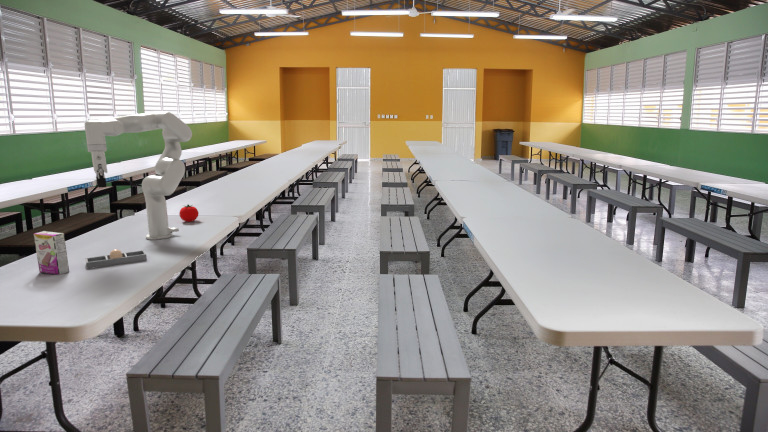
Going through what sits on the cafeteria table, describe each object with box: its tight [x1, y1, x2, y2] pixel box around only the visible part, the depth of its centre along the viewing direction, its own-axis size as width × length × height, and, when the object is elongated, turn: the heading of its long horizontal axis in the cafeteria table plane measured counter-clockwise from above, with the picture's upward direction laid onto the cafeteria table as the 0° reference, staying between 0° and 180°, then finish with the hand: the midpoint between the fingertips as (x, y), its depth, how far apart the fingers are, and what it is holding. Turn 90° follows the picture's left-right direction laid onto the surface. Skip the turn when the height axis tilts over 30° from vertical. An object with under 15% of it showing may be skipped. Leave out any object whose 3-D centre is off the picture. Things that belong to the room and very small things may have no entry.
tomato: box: [178, 204, 199, 223], centre depth 305 cm, size 10×10×10 cm
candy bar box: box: [33, 230, 70, 276], centre depth 212 cm, size 11×5×16 cm, turn 71°
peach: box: [109, 248, 123, 259], centre depth 226 cm, size 5×5×5 cm
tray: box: [85, 249, 148, 270], centre depth 227 cm, size 23×8×3 cm, turn 121°
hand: (101, 185), depth 240 cm, fingers open, 9 cm apart
